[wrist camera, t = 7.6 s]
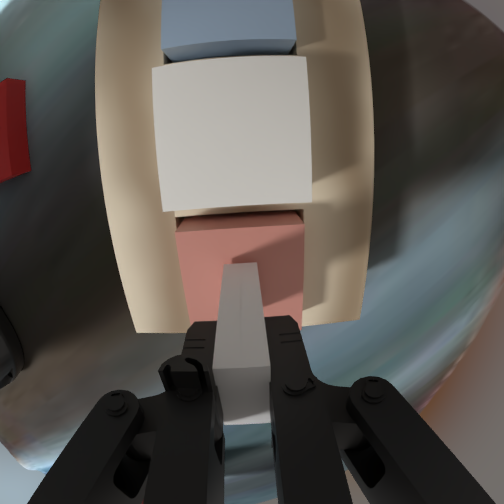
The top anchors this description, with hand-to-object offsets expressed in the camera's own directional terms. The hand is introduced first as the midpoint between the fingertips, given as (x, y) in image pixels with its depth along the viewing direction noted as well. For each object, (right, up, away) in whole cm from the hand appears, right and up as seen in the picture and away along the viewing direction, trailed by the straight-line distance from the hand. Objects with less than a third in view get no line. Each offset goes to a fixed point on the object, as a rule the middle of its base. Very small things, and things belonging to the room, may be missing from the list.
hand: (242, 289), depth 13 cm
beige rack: (-1, +9, +4) cm, 10 cm away
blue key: (-1, +14, -2) cm, 15 cm away
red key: (0, +1, +3) cm, 3 cm away
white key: (0, +7, -1) cm, 7 cm away
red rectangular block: (-21, +12, +3) cm, 24 cm away
